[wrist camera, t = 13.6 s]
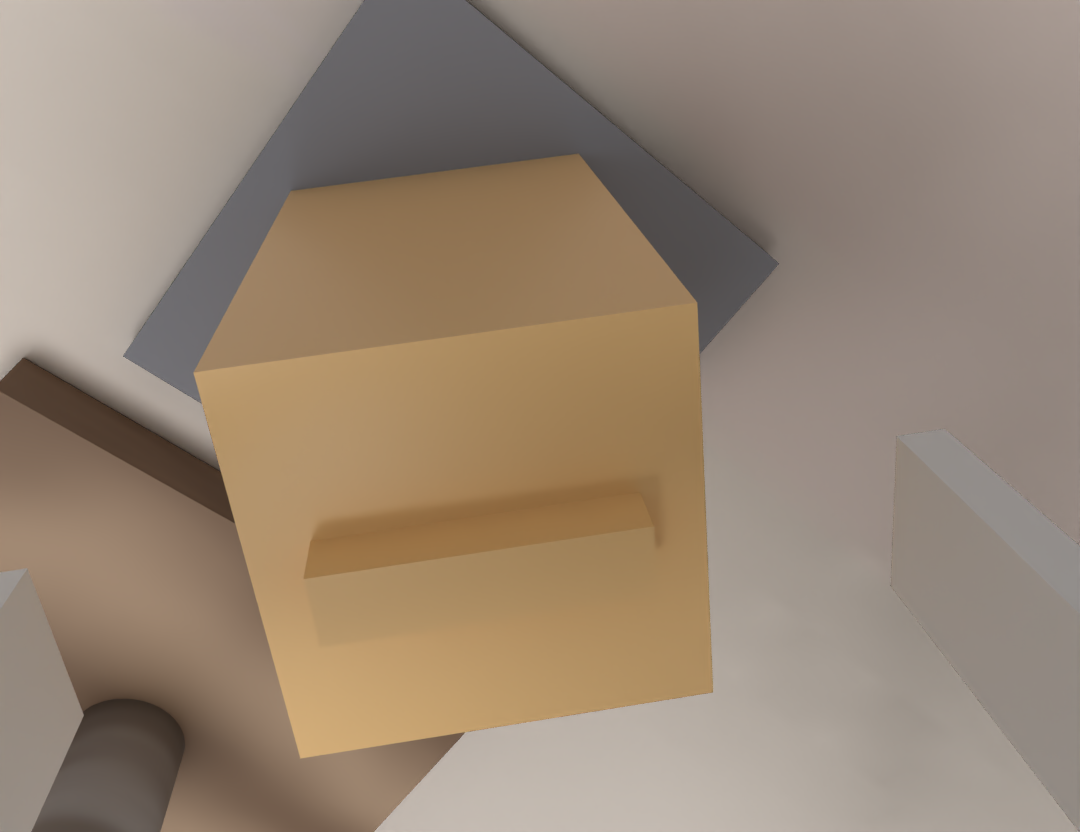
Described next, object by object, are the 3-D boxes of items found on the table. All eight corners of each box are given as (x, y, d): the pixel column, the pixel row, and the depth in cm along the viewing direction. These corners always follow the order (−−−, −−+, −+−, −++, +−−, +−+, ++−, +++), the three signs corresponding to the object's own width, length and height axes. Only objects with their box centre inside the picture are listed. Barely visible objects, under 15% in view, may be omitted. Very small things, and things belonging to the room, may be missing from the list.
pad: (496, 563, 30) (498, 582, 29) (133, 342, 26) (123, 356, 25) (766, 253, 27) (779, 263, 26) (401, -54, 23) (401, -54, 22)
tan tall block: (345, 449, 27) (293, 804, 16) (290, 190, 24) (177, 401, 13) (601, 411, 27) (729, 733, 16) (578, 153, 24) (716, 326, 13)
